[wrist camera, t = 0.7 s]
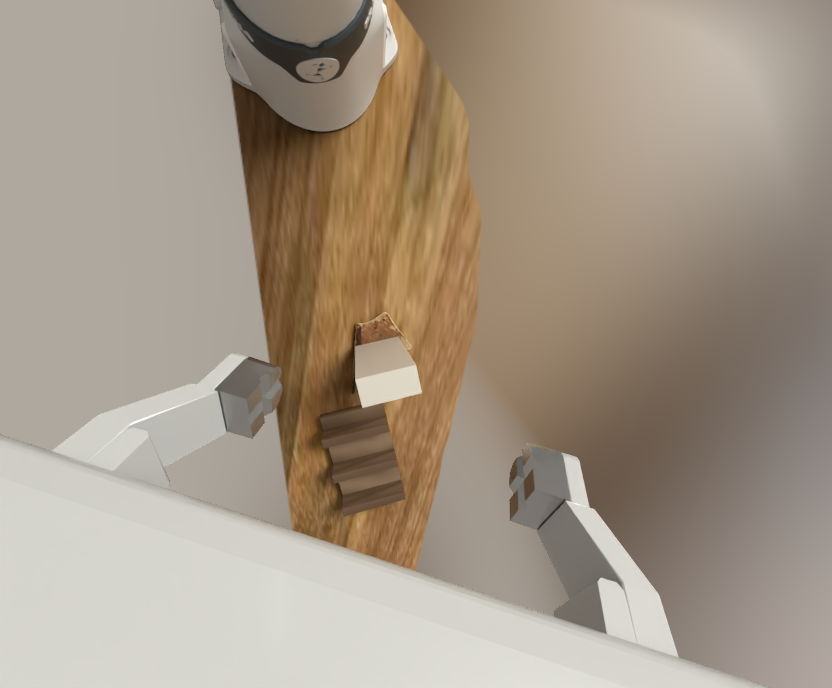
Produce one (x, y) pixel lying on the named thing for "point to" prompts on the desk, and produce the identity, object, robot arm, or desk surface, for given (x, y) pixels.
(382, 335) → the shard
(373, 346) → the clay bar
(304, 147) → the desk surface
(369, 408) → the drying rack
